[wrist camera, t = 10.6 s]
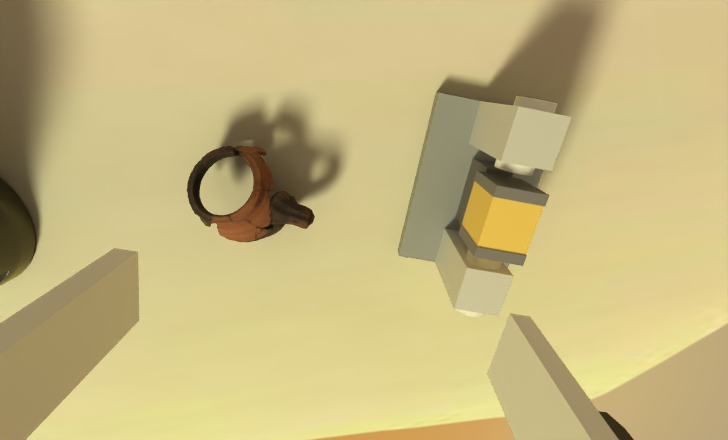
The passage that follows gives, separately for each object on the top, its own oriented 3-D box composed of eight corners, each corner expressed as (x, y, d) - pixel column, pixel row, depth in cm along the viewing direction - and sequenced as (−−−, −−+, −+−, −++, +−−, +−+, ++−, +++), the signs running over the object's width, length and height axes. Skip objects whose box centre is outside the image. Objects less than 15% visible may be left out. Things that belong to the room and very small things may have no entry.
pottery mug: (216, 235, 42) (165, 225, 34) (238, 155, 43) (194, 127, 35) (317, 259, 39) (288, 253, 31) (337, 173, 40) (314, 147, 32)
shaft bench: (396, 256, 42) (406, 308, 32) (438, 84, 36) (467, 83, 26) (498, 273, 43) (539, 330, 33) (556, 108, 36) (628, 117, 27)
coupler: (458, 233, 34) (473, 257, 30) (477, 170, 32) (496, 185, 28) (500, 240, 35) (522, 265, 30) (521, 179, 33) (549, 195, 28)
